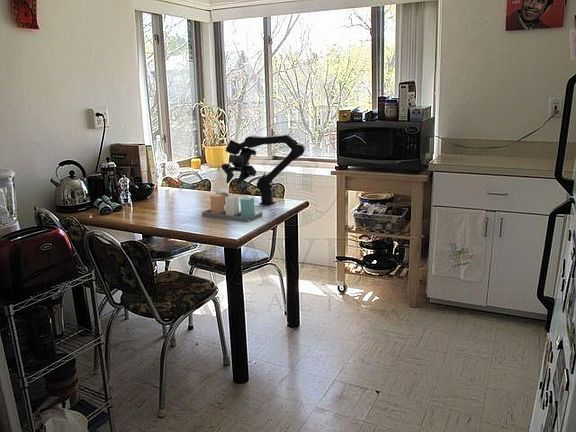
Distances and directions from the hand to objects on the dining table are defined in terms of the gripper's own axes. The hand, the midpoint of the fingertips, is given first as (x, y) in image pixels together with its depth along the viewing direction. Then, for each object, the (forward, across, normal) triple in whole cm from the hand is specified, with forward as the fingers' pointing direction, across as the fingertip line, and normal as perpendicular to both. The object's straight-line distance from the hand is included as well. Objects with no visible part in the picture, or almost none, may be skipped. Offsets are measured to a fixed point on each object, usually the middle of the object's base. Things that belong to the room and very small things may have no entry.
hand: (232, 183), depth 251 cm
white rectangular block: (+18, +9, 0) cm, 20 cm away
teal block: (+18, +18, 0) cm, 25 cm away
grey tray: (+18, +9, +1) cm, 21 cm away
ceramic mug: (+3, -13, +17) cm, 21 cm away
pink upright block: (+18, 0, 0) cm, 18 cm away
